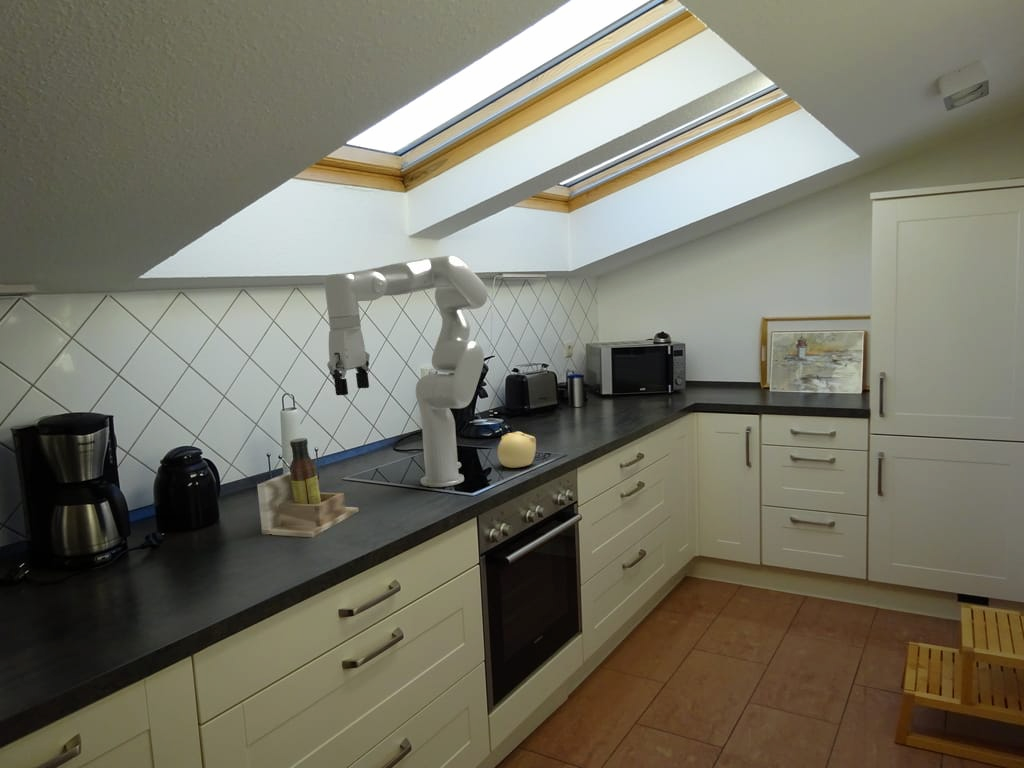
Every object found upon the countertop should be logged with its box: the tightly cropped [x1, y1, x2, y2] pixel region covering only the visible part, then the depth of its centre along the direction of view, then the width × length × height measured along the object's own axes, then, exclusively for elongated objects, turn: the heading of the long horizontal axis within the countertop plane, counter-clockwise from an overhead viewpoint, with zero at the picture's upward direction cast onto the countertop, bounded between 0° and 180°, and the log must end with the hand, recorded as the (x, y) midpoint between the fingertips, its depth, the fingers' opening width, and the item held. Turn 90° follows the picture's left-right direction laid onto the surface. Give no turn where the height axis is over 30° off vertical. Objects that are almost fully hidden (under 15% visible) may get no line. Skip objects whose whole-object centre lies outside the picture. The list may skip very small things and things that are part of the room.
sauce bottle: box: [289, 437, 321, 504], centre depth 174 cm, size 7×6×20 cm
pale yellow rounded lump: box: [497, 430, 537, 469], centre depth 221 cm, size 12×12×11 cm
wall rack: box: [256, 471, 359, 538], centre depth 175 cm, size 20×14×12 cm
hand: (353, 391), depth 179 cm, fingers open, 9 cm apart
